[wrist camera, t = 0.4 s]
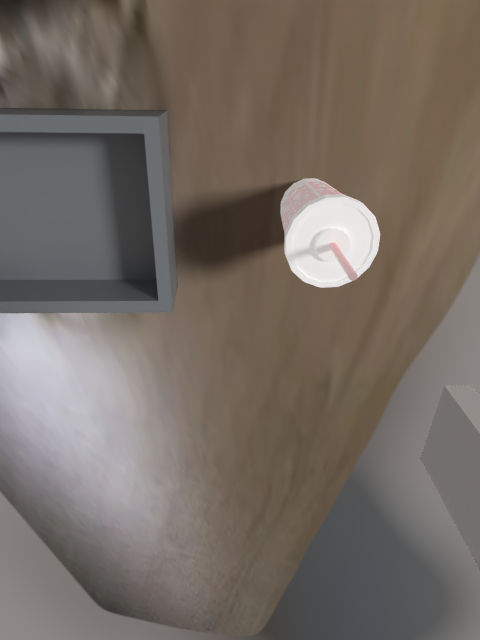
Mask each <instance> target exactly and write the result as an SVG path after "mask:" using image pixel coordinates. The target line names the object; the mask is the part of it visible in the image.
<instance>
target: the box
mask: <svg viewBox="0 0 480 640" xmlns="http://www.w3.org/2000/svg"><path fill="white" fill-rule="evenodd" d="M177 286H178V284H177V267H176V251H175V234H174V217H173V201H172V184H171V168H170V151H169V134H168V118H167V110H98V109H26V108H0V313H108V312H172V311H173V306H174V301H175V296H176V291H177Z"/></svg>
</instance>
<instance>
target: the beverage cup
mask: <svg viewBox="0 0 480 640" xmlns="http://www.w3.org/2000/svg"><path fill="white" fill-rule="evenodd" d="M281 218H282V223H283V228H284V233H285V243H284V251H285V256H286V258H287V260H288V263H289V265H290V267H291V270H292V271H293V272H294V273H295V274H296V275H297V276H298V277H299V278H300V279H301V280H303V281H304V282H306V283H309V284H311V285H314V286H317V287H320V288H321V287H339V286H341V285H343V284H346V283H348V282H351V281H354V280H356V279H357V278H358V277H359V276H360V275H361V274H362V273H363V272H364V271H366V270H367V269H368V268H369V266H370V265H371V263H372V261H373V259H374V257H375V256H376V254H377V252H378V246H379V239H380V231H379V228H378V225H377V221H376V218H375V216H374V215H373V214H372V213H371V212H370V211H369V210H368V208H367V207H366V206H365V205H364V204H363V203H362V202H360V201H358V200H356V199H353V198H351V197H348V196H346V195H343V194H341V193H340V192H338V191H337V190H335V189H334V188H333V187H331V186H330V185H328V184H327V183H325V182H323V181H320V180H318V179H315V178H313V179H302V180H300V181H298V182H296V183H294V184H292V185H291V187H290V188H289V189H288V190H287V191H286V192H285V194H284V196H283V198H282V201H281Z"/></svg>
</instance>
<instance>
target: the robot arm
mask: <svg viewBox="0 0 480 640" xmlns="http://www.w3.org/2000/svg"><path fill="white" fill-rule="evenodd" d="M421 460H422V462H423V464H424V466H425V468H426V469H427V471H428V473H429V475H430V476H431V479H432V481H433V483H434V484H435V486H436V488H437V490H438V492H439V494H440V496H441V498H442V500H443V502H444V504H445V505H446V507H447V509H448V511H449V513H450V515H451V517H452V519H453V521H454V522H455V524H456V526H457V528H458V530H459V532H460V534H461V536H462V537H463V539H464V541H465V543H466V545H467V547H468V549H469V550H470V553H471V554H472V556H473V558H474V560H475V562H476V564H477V566H478V568H479V570H480V396H479V395H478V393H477V392H476V391H475V390H474V389H473V387H472V386H444V389H443V392H442V395H441V398H440V401H439V404H438V407H437V410H436V413H435V416H434V419H433V422H432V425H431V428H430V431H429V434H428V437H427V440H426V443H425V446H424V449H423V452H422V455H421Z"/></svg>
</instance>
